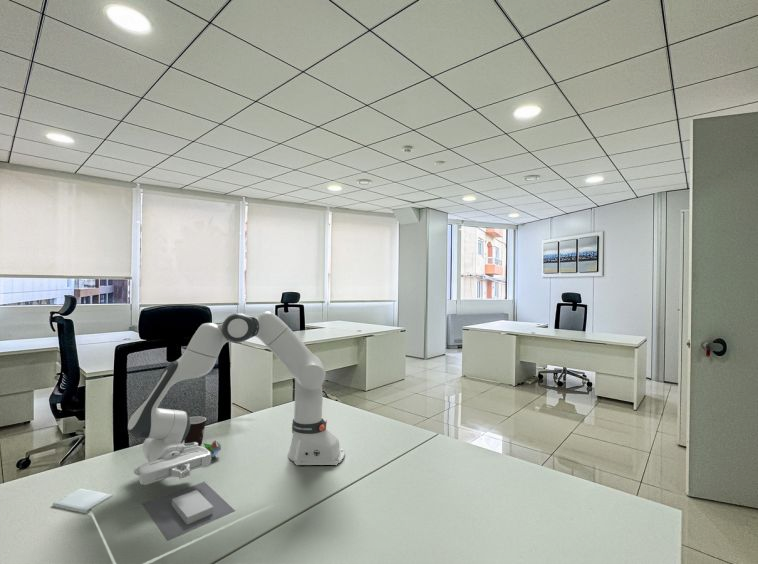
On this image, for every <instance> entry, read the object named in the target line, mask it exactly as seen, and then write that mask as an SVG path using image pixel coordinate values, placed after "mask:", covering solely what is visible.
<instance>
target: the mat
mask: <svg viewBox="0 0 758 564" xmlns="http://www.w3.org/2000/svg"><path fill="white" fill-rule="evenodd" d="M195 490H197V491H198V492H199V493H200V494H201V495H202V496H203V497H204V498H205V499H206V500H207V501H208V502H209V503H210V504H211V505H212V506H213V514H211V515H209V516H207V517H204V518H202V519H200V520H197V521H195V522H192V523H190V524H188V525H187V524H186V523H185V522H184V520H183V519H182V518H181V517H180V515H179V514H178V513H177V512H176V510H175V509H174V508H173V507H172V499H173V498H176V497H179V496H181V495H184V494H187V493H189V492H192V491H195ZM141 505H142V506H143V507H144V509H145V510H146V511H147V514H148V515H149V517H151V519H152V520H153V522H154V523H155V525H156V527H157V528H158V529H159V531H160V532H161V533H162V535H163V537H164V538H165V540H166V541H171V540H173V539H176V538H178V537H179V536H180V537H181V536H182V535H184V534H186V533H189V532H190V531H193V530H196V529H197V528H200V527H202V526H205V525H206V524H210V523H211V522H213V521H215V520H218V519H220V518H223V517H225V516H228V515H229V514H232V513H234V512H236V510H235V509H234V508H233V507H232V506H231V505H230V504H229V503H228V502H227V501H225V499H224V498H223V497H221V496H220V495H219V494H218V493H217V492H216V491H215V490H214V489H213V488H212V487H211V486H210V485H208V483H207V482H206V481H203V482H202V481H201V482H200V483H196V484H193V485H191V486H188V487H186V488H183V489H180V490H177V491H174V492H170V493H168V494H166V495H162V496H160V497H157V498H154V499H151V500H149V501H146V502H143V503H142V504H141Z"/></svg>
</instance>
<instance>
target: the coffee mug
mask: <svg viewBox="0 0 758 564" xmlns="http://www.w3.org/2000/svg"><path fill="white" fill-rule="evenodd" d="M189 418H190V429H189V432H188V434H187V436H186V438H185V440H184V441H183V443H193V442H197V443H198V446H201V445H202V444H203V440H204V439H203V438H204V435H205V428H206V423H207V418H206V417H205V416H189Z"/></svg>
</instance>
